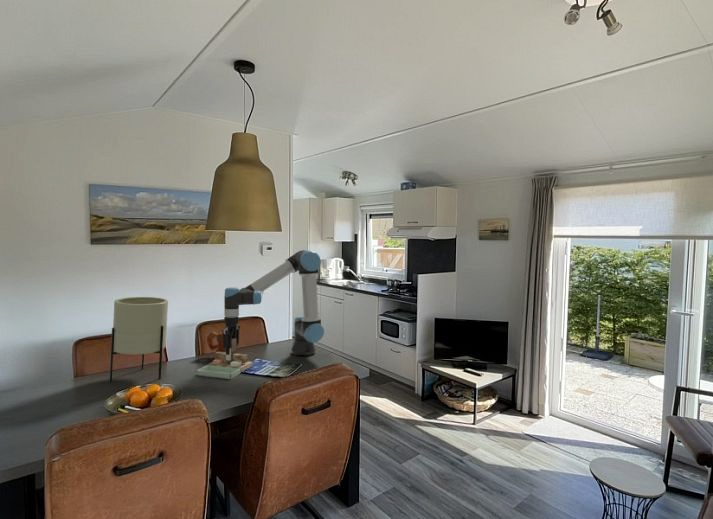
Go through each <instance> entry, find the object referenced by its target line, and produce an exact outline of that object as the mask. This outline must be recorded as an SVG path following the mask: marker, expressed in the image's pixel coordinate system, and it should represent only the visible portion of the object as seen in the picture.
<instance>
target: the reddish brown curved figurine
mask: <svg viewBox="0 0 713 519" xmlns="http://www.w3.org/2000/svg"><path fill="white" fill-rule="evenodd" d="M215 338H216V342H217V344H215V343H214V341H213V340H214V339H215ZM206 342H207V346H208V348H209V349H210V350H211V351H216V352H226V348H223V333H222V332H220V333H217V332H216V331H215V330H214V331H210V333H208V335H207V337H206ZM216 352H215V353H216Z"/></svg>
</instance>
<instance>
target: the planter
mask: <svg viewBox="0 0 713 519" xmlns="http://www.w3.org/2000/svg"><path fill="white" fill-rule="evenodd" d="M113 304H114V305H113V320H112V321H113V322H112V324H113V325H112V328H111V340H110V341H111V342H110V360H109V378H108V379H109V381H108V382H109V384H110V383H111V382H112V383H113V363H114V355H119V354H121V355H131V356H132V355H136V356H137V355H141V357H142V358H141V370H142V369H143V368H144V369H145V367H144V366H145V355H147V354H153V353H154V354H159V358H158V359H159V360H158V361H159V362H158V376H157V377H158V380H161V379H162V364H163V363H162V362H163V350H164V349H165V348H166V345H167V344H166V343H167V326H168V325H167V324H168V308H169V307H168V306H169V300H168V299H166V298H162V297H155V296H135V297H134V296H133V297H132V296H131V297H122V298H118V299H115V300H114V303H113ZM144 369H143V370H144ZM112 383H111V384H112Z"/></svg>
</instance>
